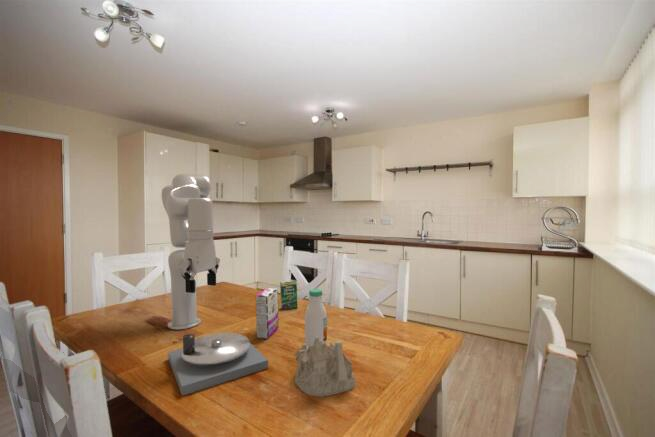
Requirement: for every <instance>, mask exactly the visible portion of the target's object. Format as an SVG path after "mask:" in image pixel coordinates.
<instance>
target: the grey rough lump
mask: <svg viewBox="0 0 655 437" xmlns="http://www.w3.org/2000/svg"><path fill="white" fill-rule="evenodd" d="M327 345H328V344H327ZM327 345H326V342H324V343H322V341H321V340H319V337H318V336H316V337H315V341H314V345H309V347H308V346H307V345H306V344H305V342H304V343H302V344H301V349H300V350H298V352H297V354H296V358H295V360H296V361H297V369H296V372H295V378H294V383H295V385H296V386H297V387H298V388H299V389H300V391H302V392H303V393H304V394H306V395H308V396H313V397H328V396H331V395H335V394H341V393H345V392H349V391H352V390H353V389H354V388H355V386H356V380H355V376H354V374H353V368H352V365H353V362H352V361H350V359H348V358H347V356H346V355H345V353H344V350H343V343H342V341H341V340H336V341H335V342H334V343H333V342H330V343H329V345H328V346H327Z"/></svg>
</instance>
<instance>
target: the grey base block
mask: <svg viewBox="0 0 655 437" xmlns="http://www.w3.org/2000/svg"><path fill="white" fill-rule="evenodd" d="M182 348H183V347H182ZM182 348H178V349H173V350H169V351H168V352H167V354H168V363H169V364H170V367H171V369H172V371H173V376H174V377H175V381H176V383H177V386H178V388H179V391H180V394H181V396H182V397H183V396H186V395H189V394H193V393H196V392H198V391H202V390H205V389H208V388H211V387H214V386H218V385H219V384H224V383H227V382H229V381H232V380H235V379H239V378H242V377H245V376H249V375H251V374H255V373H257V372H261V371H264V370H266V369H269V360H268V359H267V357H265V356H264V355H263V353H262V352H260V351H259V350H258V349H257V348H256V347H255V346H254V345H253V344H252V343H251V342H250V341H249V349H248V351H247V352H246V353H245V354H243V355H242V356H240V357H239V358H236V359H234V360H232V361H229V362H226V363H222V364H217V365H207V366H200V365H192V364H189V363H186V362H185V361H183V359H182V357H181V351H182Z"/></svg>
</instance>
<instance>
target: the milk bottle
mask: <svg viewBox="0 0 655 437" xmlns="http://www.w3.org/2000/svg"><path fill="white" fill-rule="evenodd" d="M308 293H309V294H308V295H309V296H308V297H309V302H308V304H307V306H306V309H305V313H304V343H305V344H306V345H307V346H308V347H309V345H314V341H315V337H316V336H318V337H319V340H321V341H322V343H324V342H326V345H328V325H327V324H328V323H327V321H328V318H327V317H328V316H327V310H326V309H327V308H325V305H324V302H323V300H322V297H323V290H322V289H320V288H319V289H318V288H312V289H310V290H309V292H308Z"/></svg>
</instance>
